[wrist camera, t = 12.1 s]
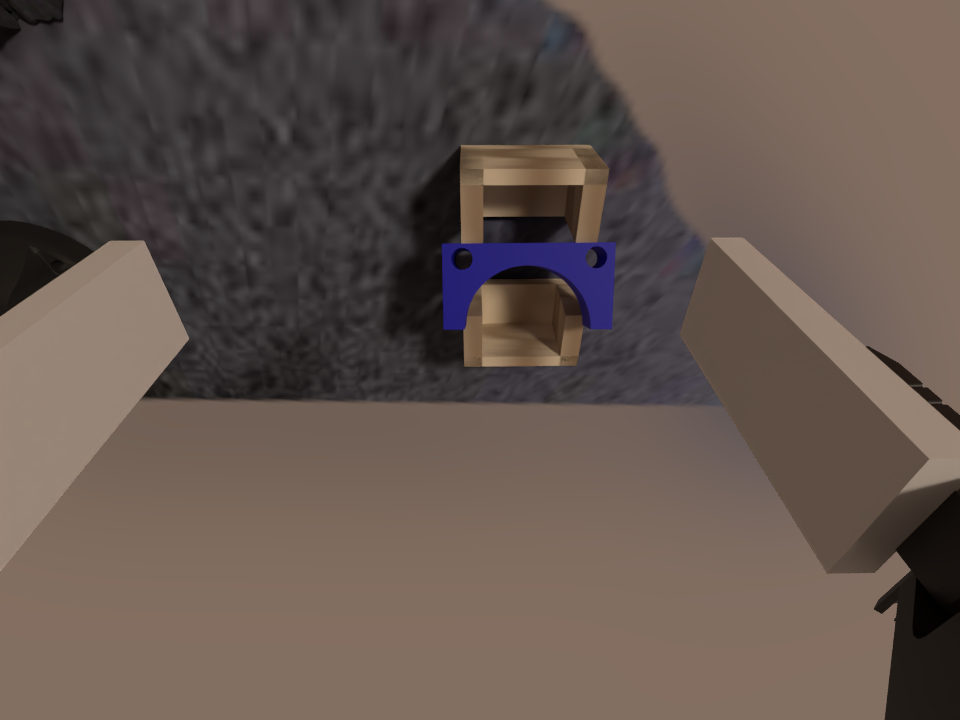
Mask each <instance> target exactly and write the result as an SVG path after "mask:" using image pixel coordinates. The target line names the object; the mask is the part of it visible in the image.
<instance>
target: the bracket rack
mask: <svg viewBox="0 0 960 720" xmlns="http://www.w3.org/2000/svg"><path fill="white" fill-rule="evenodd" d="M608 174H609V168H608V167H607V165H606V164H605V163H604V162H603V160H602V159H601V158H600V157H599V155H598V154H597V153H596V152H595V150H594V149H593V148H592V147H591V145H461V156H460V200H461V243H483V217H545V216H564V217H565V219H566V222H567V224H568V226H569V229H570V231H571V233H572V236H573V238H574V240H575V243H595V242H597V240H598V234H599V228H600V222H601V216H602V210H603V204H604V198H605V192H606V186H607V180H608ZM463 331H464V367H476V366H577V361H578V355H579V349H580V343H581V337H582V331H583V325H582V312H581V308H580V305H579V302H578V300H577V298H576V296H575V294H574V292H573V291H572V289H571V288H570V287H569V285H568V284H567V283H566V282H565V281H564V280H563V279H488V280H487V281H486V282H485V283H484V284H483V285H482V286H481V287H480V288H479V289H478V291H477V292H476V293H475V295H474V297H473V299H472V301H471V303H470V306H469V310H468V314H467V324H466V327H465V330H463Z"/></svg>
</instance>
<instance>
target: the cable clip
mask: <svg viewBox="0 0 960 720" xmlns="http://www.w3.org/2000/svg"><path fill="white" fill-rule="evenodd" d="M615 247H616V242H595V243H459V244H442V276H443V325H444V330H465V327H466V324H467V314H468V310H469V306H470V303H471V301H472V299H473V297H474V295H475V293H476V292H477V291H478V289H479V288H480V287H481V286H482V285H483V284H484V283H485V282H486V281H487V280H488V279H490V278H491V277H492V276H494V275H495V274H497V273H499V272H501V271H503V270H506V269H508V268H512V267H518V266H534V267H539V268H542V269H545V270H548V271H550V272H552V273H554V274H556V275H557V276H559V277H560V278H561V279H563V280H564V281H565V282H566V283H567V284H568V285H569V287H570V288H571V289H572V291H573V292H574V294H575V296H576V298H577V300H578V302H579V305H580V308H581V312H582V325H584V326H586V327H588V328H590V329H612V314H613V292H614V269H615ZM589 249H592V250H594V251H595V252H596V254H597V262H596V264H595V265H594V266H593V267H590V266H589V265H588V264H587V262H586V253H587V251H588V250H589ZM462 251H468V252H470V253H471V254H472V257H473V261H472V264H471V266H470V267H469V268H467V269H465V270H461V269H460V268H458V266H457V265H456V257H457V255H458V254H459V253H460V252H462Z"/></svg>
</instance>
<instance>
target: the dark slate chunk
mask: <svg viewBox="0 0 960 720" xmlns="http://www.w3.org/2000/svg"><path fill="white" fill-rule="evenodd" d="M62 3H63V0H0V32H4V31H6V30H8V28H12V29H19V28H20V26H19V23H18V18H23V19H24V20H26V21H27V22H29V23H38V19H41V20H46V21H49V20H51V19H52V18H56V19H61V18H62ZM11 7H12V8H13V9H12V8H11ZM13 10H14V11H15V12H14V11H13ZM10 11H12V12H13V13H12V14H10Z"/></svg>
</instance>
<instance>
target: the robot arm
mask: <svg viewBox="0 0 960 720" xmlns="http://www.w3.org/2000/svg"><path fill="white" fill-rule="evenodd" d="M680 336H681V338H682V339H683V341H684V343H685V344H686V346H687V348H688V349H689V351H690V352H691V354H692V356H693V357H694V359H695V361H696V362H697V364H698V365H699V367H700V369H701V370H702V372H703V373H704V375H705V377H706V378H707V380H708V382H709V383H710V385H711V386H712V388H713V390H714V391H715V393H716V395H717V396H718V398H719V399H720V401H721V403H722V404H723V406H724V407H725V409H726V411H727V412H728V414H729V416H730V417H731V419H732V420H733V422H734V424H735V425H736V427H737V429H738V430H739V432H740V433H741V435H742V437H743V438H744V440H745V441H746V442H747V445H748V446H749V448H750V450H751V451H752V453H753V454H754V456H755V458H756V459H757V461H758V462H759V464H760V466H761V467H762V469H763V471H764V472H765V474H766V475H767V477H768V479H769V480H770V482H771V483H772V485H773V487H774V488H775V490H776V491H777V493H778V495H779V496H780V498H781V500H782V501H783V503H784V504H785V506H786V508H787V509H788V511H789V513H790V514H791V516H792V518H793V519H794V521H795V522H796V524H797V526H798V527H799V529H800V530H801V532H802V534H803V535H804V537H805V539H806V540H807V542H808V543H809V545H810V547H811V548H812V550H813V551H814V553H815V554H816V556H817V558H818V560H819V561H820V563H821V565H822V566H823V568H824V569H825V571H826V572H827V573H875V572H876V571H877V570H878V569H879V568H880V567H881V566H882V565H883V564H884V563H885V562H886V561H887V560H888V559H889V558H890V557H891V556H892V555H893V554H894V553H895V552H896V551H897V552H898V554H899V555H900V556H901V558H902V559H903V560H904V561H905V563H906V564H907V565H908V567H909V568H910V569H911V571H910V572H909V573H908V574H907V575H906V576H904V577H903V578H902V579H901V580H900V581H899V582H898V583H897V584H895V585H894V586H893V587H892V588H891V589H890V590H889V591H888V592H887V593H886V594H884V595H883V596H882V597H881V598H880V599H879V600H878V602H877V604H876V606H875V607H874V610H876V611H878V612H880V613H881V614H882V613H883V612H885V611H886V610H887V609H888V608H889V607H890V606H891V605H893V604H894V603H898V605H897V614H896V618H895V619H894V621H896V623H895V632H894V641H893V650H892V659H891V668H890V677H889V686H888V695H887V704H886V713H885V720H960V415H959V414H958V413H956V412H955V411H954V410H953V409H952V408H951V407H949V406H948V405H943V404H942V400H941V399H940V398H939V397H938V396H937V395H935V394H934V393H933V392H932V391H931V390H930V389H929V388H927V387H926V388H923V387H922V383H921V382H920V381H919V380H918V379H917V378H916V377H914V376H913V375H912V374H911V373H910V372H909V371H908V370H906V369H905V368H904V367H903V366H902V365H900V364H899V363H898V362H896V361H894V360H892V359H890V358H889V357H887V356H885V355H883V354H881V353H880V352H878V351H876V350H874V349H872V348H870V347H869V346H864V345H863V344H862V343H861V342H859V341H858V340H857V339H856V338H855V337H854V336H853V335H852V334H850V333H849V332H848V331H847V330H846V329H845V328H844V327H843V326H841V325H840V324H839V323H838V322H837V321H836V320H835V319H834V318H832V317H831V316H830V315H829V314H828V313H827V312H826V311H825V310H824V309H822V308H821V307H820V306H819V305H818V304H817V303H816V302H815V301H813V300H812V299H811V298H810V297H809V296H808V295H807V294H806V293H804V292H803V291H802V290H801V289H800V288H799V287H798V286H797V285H795V284H794V283H793V282H792V281H791V280H790V279H789V278H788V277H786V276H785V275H784V274H783V273H782V272H781V271H780V270H779V269H777V268H776V267H775V266H774V265H773V264H772V263H771V262H769V261H768V260H767V259H766V258H765V257H764V256H763V255H762V254H761V253H759V252H758V251H757V250H756V249H755V248H754V247H753V246H752V245H750V244H749V243H748V242H747V241H746V240H745V239H744V238H710V241H709V244H708V247H707V250H706V254H705V257H704V260H703V263H702V266H701V269H700V272H699V275H698V279H697V282H696V285H695V288H694V291H693V294H692V297H691V300H690V303H689V307H688V310H687V313H686V316H685V319H684V322H683V325H682V328H681V332H680ZM188 340H189V337H188V335H187V333H186V331H185V328H184V326H183V324H182V322H181V320H180V318H179V315H178V313H177V311H176V309H175V307H174V305H173V302H172V300H171V298H170V296H169V294H168V292H167V289H166V287H165V285H164V283H163V281H162V279H161V276H160V274H159V272H158V270H157V268H156V266H155V264H154V261H153V259H152V257H151V255H150V253H149V251H148V248H147V246H146V244H145V242H144V241H109V242H108V243H106V244H105V245H104V246H102V247H101V248H99V249H98V250H96V251H95V252H93V251H92V250H91V249H89V248H87V247H86V246H84V245H82V244H81V243H79V242H77V241H75V240H73V239H71V238H69V237H67V236H65V235H63V234H60V233H58V232H56V231H53V230H50V229H47V228H44V227H41V226H37V225H34V224H29V223H24V222H17V221H0V571H1V570H2V569H3V567H4V566H5V565H6V564H7V563H8V561H9V560H10V559H11V558H12V556H13V555H14V554H15V553H16V552H17V550H18V549H19V548H20V547H21V545H22V544H23V543H24V542H25V540H26V539H27V538H28V537H29V535H30V534H31V533H32V532H33V531H34V529H35V528H36V527H37V526H38V524H39V523H40V522H41V521H42V520H43V518H44V517H45V516H46V515H47V513H48V512H49V511H50V510H51V508H52V507H53V506H54V504H56V502H57V501H58V500H59V499H60V497H61V496H62V495H63V493H64V492H65V491H66V490H67V489H68V488H69V486H70V485H71V484H72V483H73V481H74V480H75V479H76V478H77V476H78V475H79V474H80V473H81V471H82V470H83V469H84V468H85V467H86V465H87V464H88V463H89V462H90V460H91V459H92V458H93V457H94V456H95V454H96V453H97V452H98V451H99V449H100V448H101V447H102V446H103V444H104V443H105V442H106V441H107V439H108V438H109V437H110V436H111V435H112V433H113V432H114V431H115V429H116V428H117V427H118V426H119V425H120V423H121V422H122V421H123V419H124V418H125V417H126V416H127V415H128V414H129V412H130V411H131V410H132V409H133V407H134V406H135V405H136V404H137V402H138V401H139V400H140V399H141V398H142V396H143V395H144V394H145V393H146V391H147V390H148V389H149V388H150V387H151V385H152V384H153V383H154V382H155V380H156V379H157V378H158V377H159V375H160V374H161V373H162V372H163V371H164V369H165V368H166V367H167V366H168V364H169V363H170V362H171V361H172V359H173V358H174V357H175V356H176V354H177V353H178V352H179V351H180V350H181V348H182V347H183V346H184V345H185V343H186V342H187V341H188Z"/></svg>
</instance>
